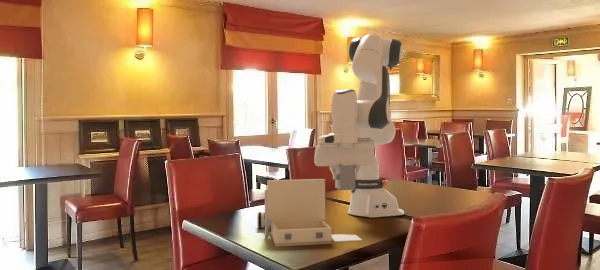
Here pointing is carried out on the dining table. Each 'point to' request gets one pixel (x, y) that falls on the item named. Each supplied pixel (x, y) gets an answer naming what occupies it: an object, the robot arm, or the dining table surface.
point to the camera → (261, 221)
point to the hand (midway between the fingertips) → (344, 179)
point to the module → (345, 177)
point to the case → (296, 212)
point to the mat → (345, 238)
